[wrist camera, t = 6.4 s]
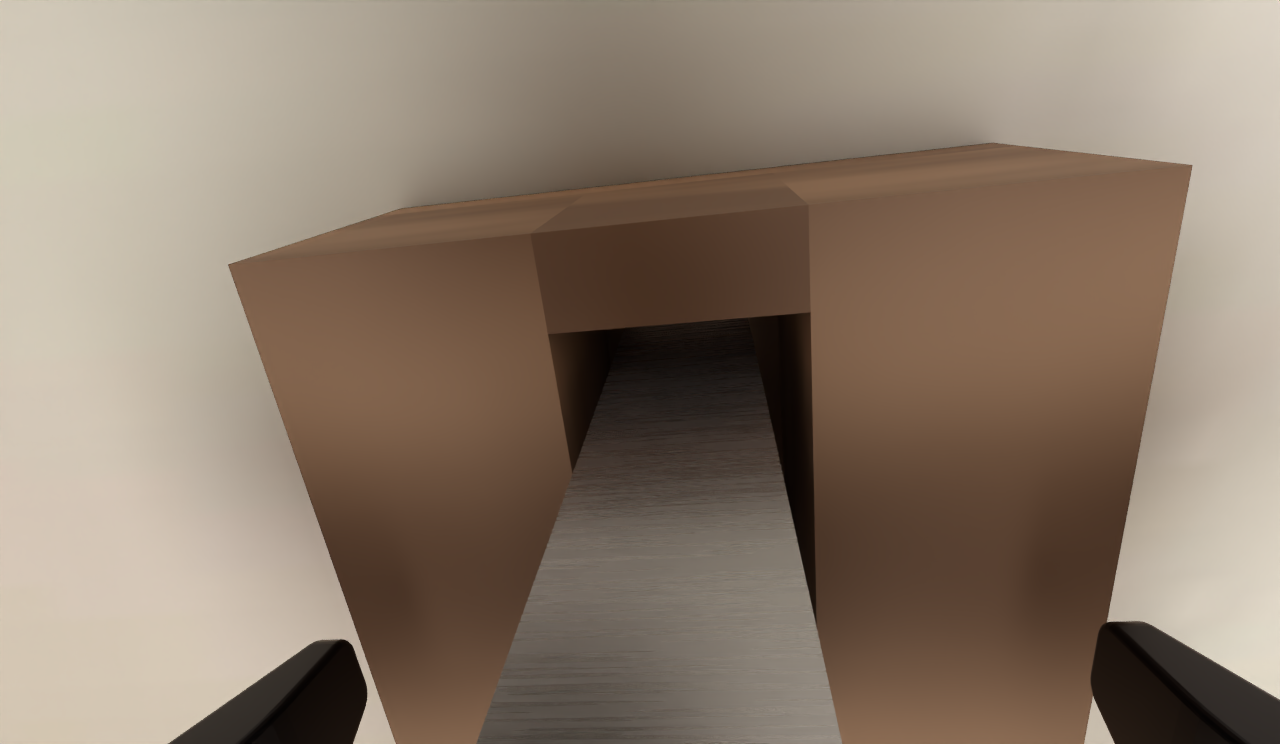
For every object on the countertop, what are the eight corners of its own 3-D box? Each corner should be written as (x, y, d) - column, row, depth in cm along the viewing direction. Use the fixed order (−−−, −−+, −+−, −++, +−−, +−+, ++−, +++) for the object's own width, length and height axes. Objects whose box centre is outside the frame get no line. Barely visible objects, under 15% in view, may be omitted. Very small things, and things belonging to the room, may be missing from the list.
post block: (956, 598, 15) (1070, 815, 10) (499, 611, 16) (418, 809, 12) (992, 142, 11) (1193, 164, 7) (400, 209, 13) (228, 264, 8)
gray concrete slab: (760, 563, 14) (876, 1464, 5) (667, 567, 14) (604, 1429, 5) (742, 292, 12) (893, 969, 2) (633, 303, 12) (400, 955, 3)
